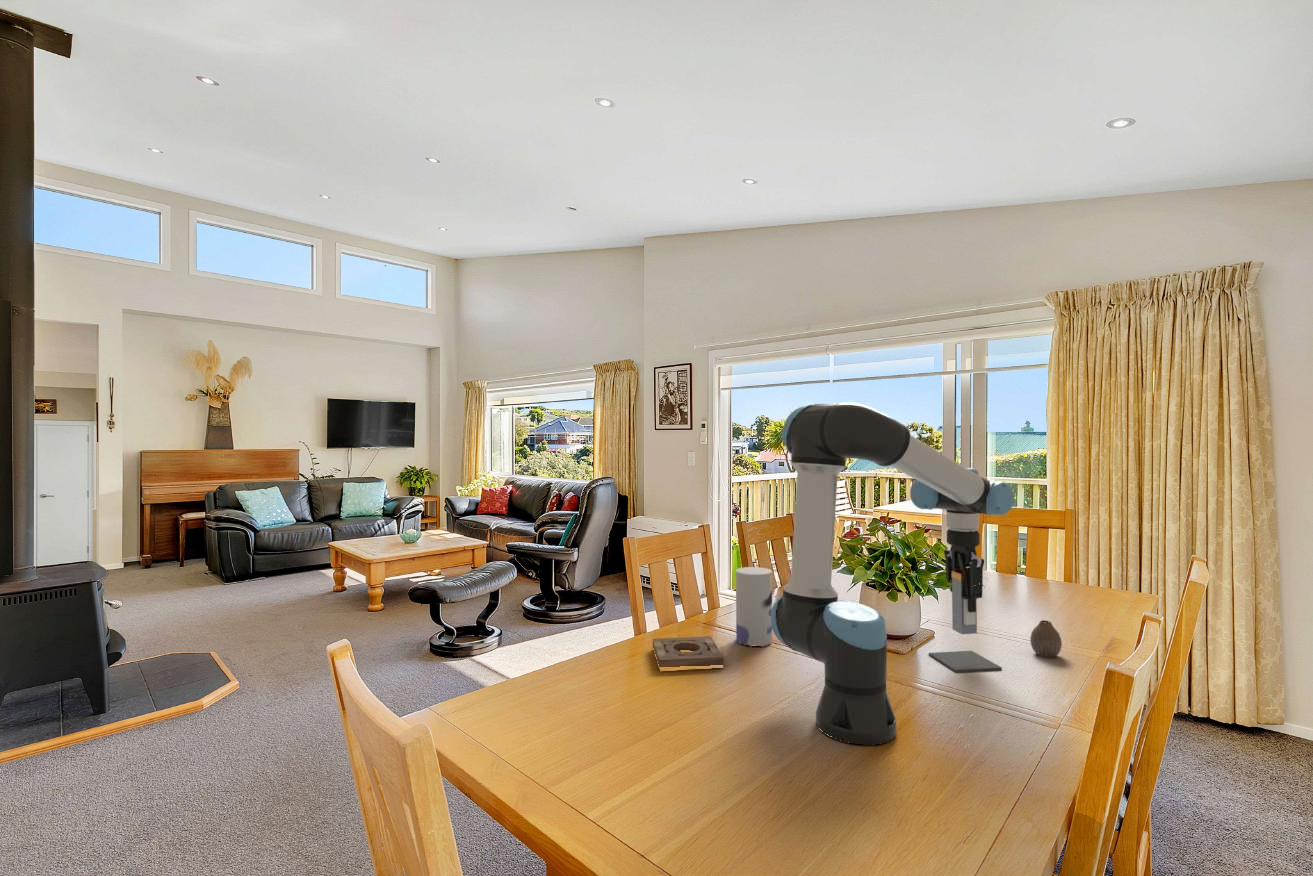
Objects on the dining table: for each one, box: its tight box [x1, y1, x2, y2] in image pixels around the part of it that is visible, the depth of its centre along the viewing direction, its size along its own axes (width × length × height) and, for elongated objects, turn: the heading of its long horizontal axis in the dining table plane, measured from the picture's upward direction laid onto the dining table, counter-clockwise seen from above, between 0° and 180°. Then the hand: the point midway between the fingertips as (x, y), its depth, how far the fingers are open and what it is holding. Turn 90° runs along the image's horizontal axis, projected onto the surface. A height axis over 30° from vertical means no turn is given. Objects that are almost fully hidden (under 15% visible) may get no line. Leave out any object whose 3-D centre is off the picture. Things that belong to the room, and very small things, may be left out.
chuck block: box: [652, 635, 725, 667], centre depth 162 cm, size 16×16×3 cm
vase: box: [1030, 619, 1063, 659], centre depth 163 cm, size 7×7×9 cm
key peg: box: [951, 571, 978, 635], centre depth 158 cm, size 4×4×15 cm
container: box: [735, 566, 773, 647], centre depth 176 cm, size 10×10×20 cm
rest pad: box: [928, 650, 1003, 673], centre depth 158 cm, size 12×12×1 cm
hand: (964, 621), depth 158 cm, fingers closed on key peg, 4 cm apart
